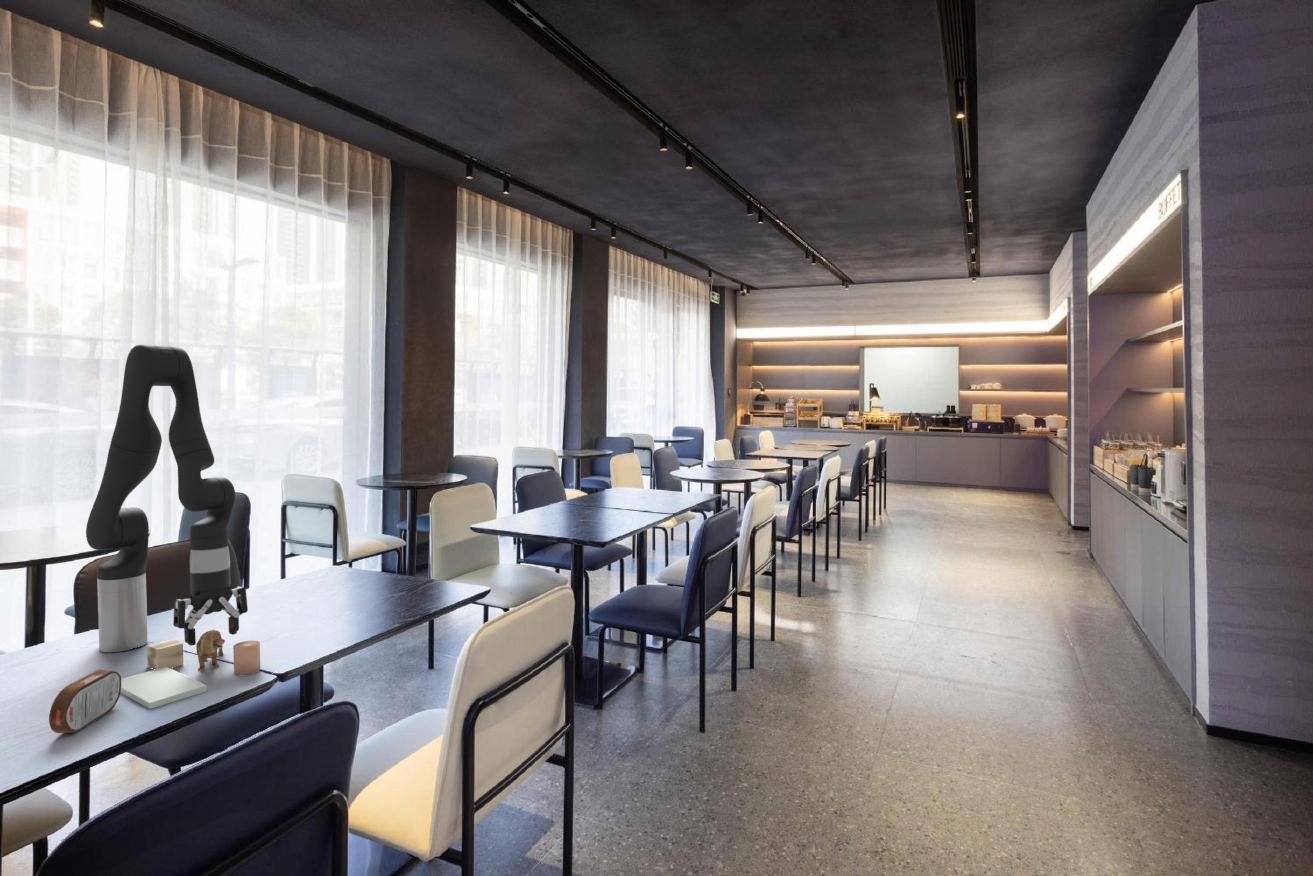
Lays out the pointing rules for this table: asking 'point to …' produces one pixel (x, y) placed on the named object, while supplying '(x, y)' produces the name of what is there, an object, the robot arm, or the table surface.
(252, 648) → the peach rounded cylinder
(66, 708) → the tin
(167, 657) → the birch block
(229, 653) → the table surface
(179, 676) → the sage board
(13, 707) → the table surface
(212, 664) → the lion figurine
